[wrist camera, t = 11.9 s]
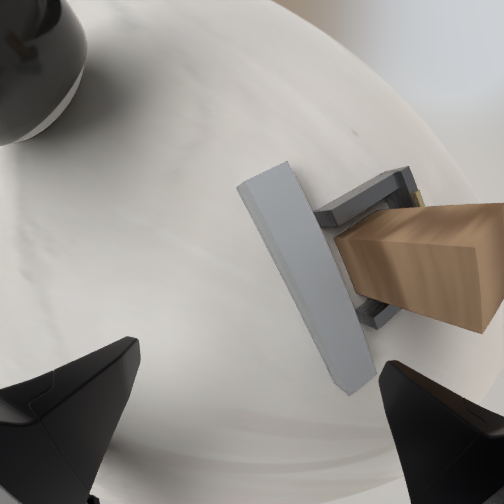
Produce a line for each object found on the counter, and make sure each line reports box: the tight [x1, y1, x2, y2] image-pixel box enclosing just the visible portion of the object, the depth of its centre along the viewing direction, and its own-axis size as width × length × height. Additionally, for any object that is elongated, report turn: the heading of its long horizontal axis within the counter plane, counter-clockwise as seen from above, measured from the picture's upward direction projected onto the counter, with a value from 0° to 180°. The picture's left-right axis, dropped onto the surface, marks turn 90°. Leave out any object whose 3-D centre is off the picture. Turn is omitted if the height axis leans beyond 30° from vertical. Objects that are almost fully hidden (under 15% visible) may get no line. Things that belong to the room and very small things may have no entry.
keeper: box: [314, 166, 425, 330], centre depth 20 cm, size 8×10×3 cm
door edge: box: [236, 161, 377, 396], centre depth 19 cm, size 3×18×2 cm, turn 29°
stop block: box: [334, 203, 504, 334], centre depth 15 cm, size 5×5×12 cm
